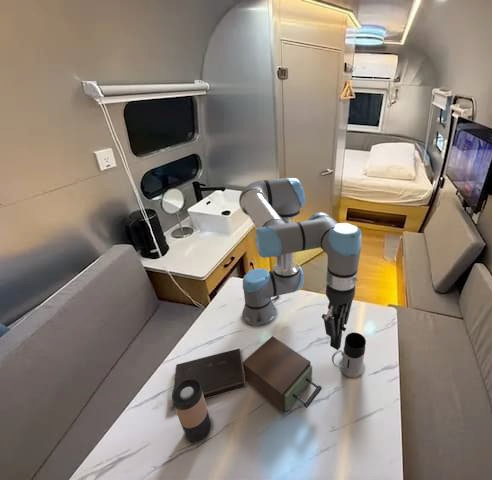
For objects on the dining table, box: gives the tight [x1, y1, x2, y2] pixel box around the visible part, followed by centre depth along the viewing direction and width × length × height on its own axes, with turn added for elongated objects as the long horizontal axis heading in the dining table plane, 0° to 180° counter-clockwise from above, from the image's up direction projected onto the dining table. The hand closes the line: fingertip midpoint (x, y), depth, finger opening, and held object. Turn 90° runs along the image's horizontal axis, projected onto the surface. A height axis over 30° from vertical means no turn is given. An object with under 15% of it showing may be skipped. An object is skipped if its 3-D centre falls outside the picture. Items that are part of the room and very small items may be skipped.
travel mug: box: [171, 379, 212, 443], centre depth 81 cm, size 8×8×20 cm
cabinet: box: [241, 335, 312, 413], centre depth 99 cm, size 19×15×10 cm
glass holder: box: [331, 332, 367, 378], centre depth 102 cm, size 9×14×15 cm, turn 121°
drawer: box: [284, 365, 323, 413], centre depth 96 cm, size 24×14×8 cm, turn 54°
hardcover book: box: [172, 348, 246, 409], centre depth 100 cm, size 16×23×2 cm
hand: (335, 346), depth 81 cm, fingers closed
